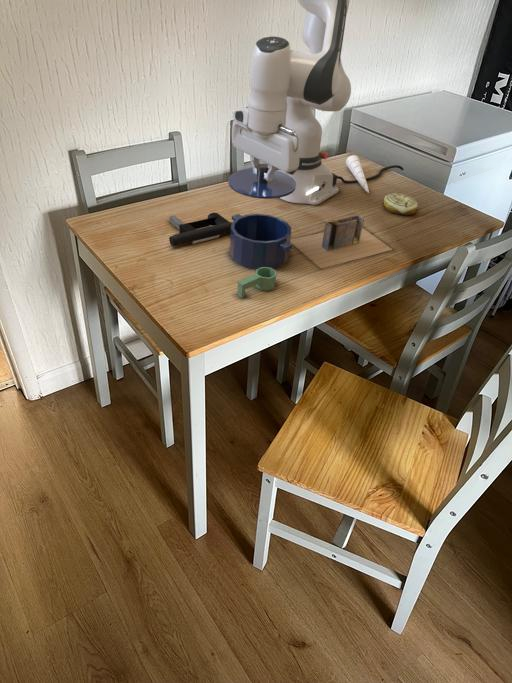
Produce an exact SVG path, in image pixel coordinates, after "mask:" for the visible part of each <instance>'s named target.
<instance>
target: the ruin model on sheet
mask: <svg viewBox="0 0 512 683" xmlns="http://www.w3.org/2000/svg"><path fill="white" fill-rule="evenodd" d="M364 220H365V218H364V217H362V216H361V215H359V214H356V215H355V214H354V215H351V216H347V217H342V218H340V217H338V218H337V219H336V218H335V219H327V221H325V223H324V230H323V232H319V233H314V234H311V235H306V236H302V237H296V238H292V239H290V244H291V245H293V246H294V247H296V249H297V250H299V251H300V252H301V253H302V254H304V256H306V257H307V258H308V259H309V260H310V261H312V262H313V263H314V264H315V265H316V266H317V267H318V268H320V269H325V268H329V267H332V266H336V265H340V264H344V263H347V262H351V261H355V260H359V259H363V258H366V257H369V256H374V255H377V254H383V253H386V252H390V251H393V248H391V247H390V246H388V245H387V244H386V243H384V242H383V241H381V240H380V239H378V238H377V236H374V235H373V234H372V233H370V232H369V231H367V230H366V229H364V228H363V225H364Z"/></svg>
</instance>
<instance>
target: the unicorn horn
mask: <svg viewBox="0 0 512 683" xmlns="http://www.w3.org/2000/svg"><path fill="white" fill-rule="evenodd" d="M345 160H346V161H345V164H346V167H347V168H348V169H349V171H350V173H351V174H352V175H353V177H354V178H355V180H358V182H357V183H358V184H359V185H360V186H361V188H363V190H364V191H365V193H367V194H370V190H369V185H368V182H367V181H366V179H365V178H366V176H365V173H364V170H363V167H362V164H361V160H360V158H359V156H358V155H356V154H352V155H349V156H348V157H347V158H346V159H345Z"/></svg>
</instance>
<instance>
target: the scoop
mask: <svg viewBox="0 0 512 683" xmlns="http://www.w3.org/2000/svg"><path fill="white" fill-rule="evenodd" d="M276 282H277V270H275V268H273V269H272V268H270V267H261V268H259V269H255V274H252V275H250V276H248V277H245V278H243V279H241V280H238V281H237V296H238V297H239V298H240V299H243V298H245V297H246V291H247V290H248V289H250V288H253V287H254V286H255V287H256V288H257V289H258V290H260V291H264V292H265V291H272V290H274V289H275V288H276Z"/></svg>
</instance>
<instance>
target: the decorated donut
mask: <svg viewBox="0 0 512 683" xmlns="http://www.w3.org/2000/svg"><path fill="white" fill-rule="evenodd" d="M382 202H383V206H384V208H385V209H386V210H387V211H388V212H390V213H392V214H396V215H400V216H402V215H403V216H410V215H414V214H415V213H416V211H417V210H418V209H417V208H418V206H419V204H418V202H417V201H416V199H415V198H414V197H411V196H410V195H408V194H404V193H398V192H396V193H395V192H393V193H389V194H387V195H385V196H384V198H383V201H382Z"/></svg>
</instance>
